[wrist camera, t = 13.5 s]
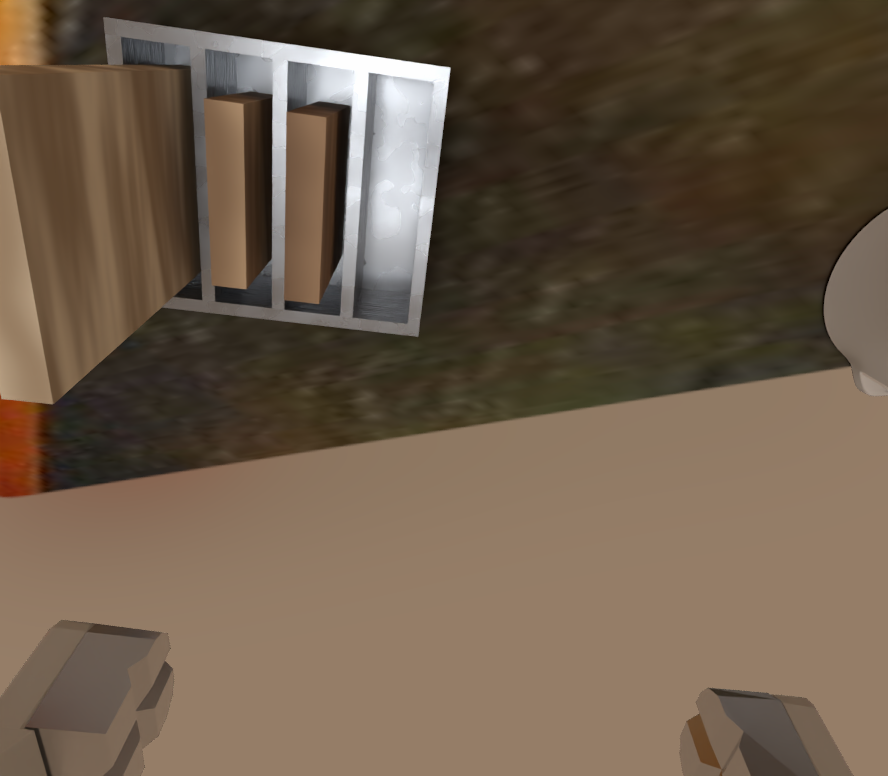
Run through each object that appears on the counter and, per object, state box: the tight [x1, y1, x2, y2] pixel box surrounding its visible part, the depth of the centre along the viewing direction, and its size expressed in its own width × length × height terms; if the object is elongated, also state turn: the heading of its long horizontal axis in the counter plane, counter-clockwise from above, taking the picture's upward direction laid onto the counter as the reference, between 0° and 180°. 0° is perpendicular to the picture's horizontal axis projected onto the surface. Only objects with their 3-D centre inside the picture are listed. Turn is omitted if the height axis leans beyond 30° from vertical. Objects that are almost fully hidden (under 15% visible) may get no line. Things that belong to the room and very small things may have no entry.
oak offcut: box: [204, 91, 273, 289], centre depth 38 cm, size 2×10×9 cm, turn 173°
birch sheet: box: [0, 64, 201, 404], centre depth 32 cm, size 2×12×22 cm, turn 173°
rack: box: [103, 17, 450, 337], centre depth 40 cm, size 18×16×8 cm
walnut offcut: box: [284, 101, 350, 304], centre depth 38 cm, size 2×10×10 cm, turn 172°
